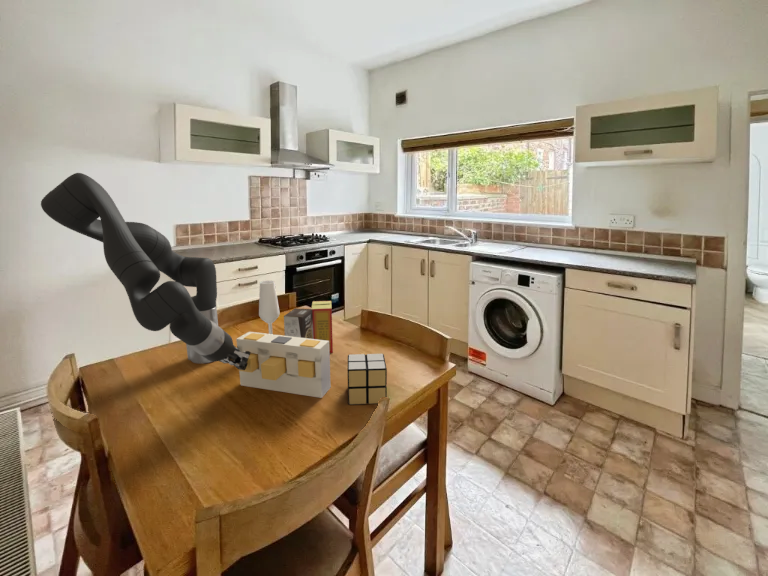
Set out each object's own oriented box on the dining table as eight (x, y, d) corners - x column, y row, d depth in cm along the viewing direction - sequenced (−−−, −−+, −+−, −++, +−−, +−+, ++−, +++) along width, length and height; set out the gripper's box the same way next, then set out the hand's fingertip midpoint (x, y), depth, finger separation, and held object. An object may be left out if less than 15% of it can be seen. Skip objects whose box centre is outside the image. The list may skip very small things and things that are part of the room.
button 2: (261, 378, 108) (260, 364, 107) (273, 369, 113) (272, 355, 112) (275, 380, 107) (274, 366, 106) (286, 371, 112) (285, 357, 111)
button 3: (298, 376, 109) (297, 362, 108) (308, 366, 115) (307, 353, 114) (312, 378, 108) (311, 363, 107) (321, 368, 113) (321, 355, 112)
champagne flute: (257, 353, 139) (252, 283, 133) (267, 345, 145) (263, 279, 139) (276, 354, 137) (271, 285, 132) (285, 347, 144) (281, 280, 138)
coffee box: (304, 366, 129) (302, 317, 125) (285, 364, 130) (282, 315, 126) (315, 354, 138) (313, 308, 134) (297, 353, 139) (294, 307, 135)
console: (240, 385, 117) (236, 337, 113) (252, 376, 122) (249, 330, 119) (321, 397, 110) (319, 347, 106) (330, 387, 116) (329, 339, 112)
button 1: (238, 370, 112) (237, 357, 111) (251, 362, 117) (250, 349, 116) (251, 372, 111) (250, 358, 110) (263, 363, 116) (262, 350, 115)
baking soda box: (332, 352, 139) (331, 307, 135) (313, 353, 139) (311, 308, 135) (332, 342, 148) (331, 299, 145) (314, 343, 148) (312, 300, 144)
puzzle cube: (348, 387, 116) (347, 354, 114) (383, 385, 117) (383, 353, 114) (348, 405, 106) (347, 369, 104) (386, 404, 107) (386, 368, 105)
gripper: (178, 351, 96) (217, 376, 111) (226, 358, 93) (260, 383, 107) (191, 322, 100) (228, 350, 114) (239, 328, 96) (270, 356, 111)
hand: (243, 366), depth 111 cm, fingers closed
